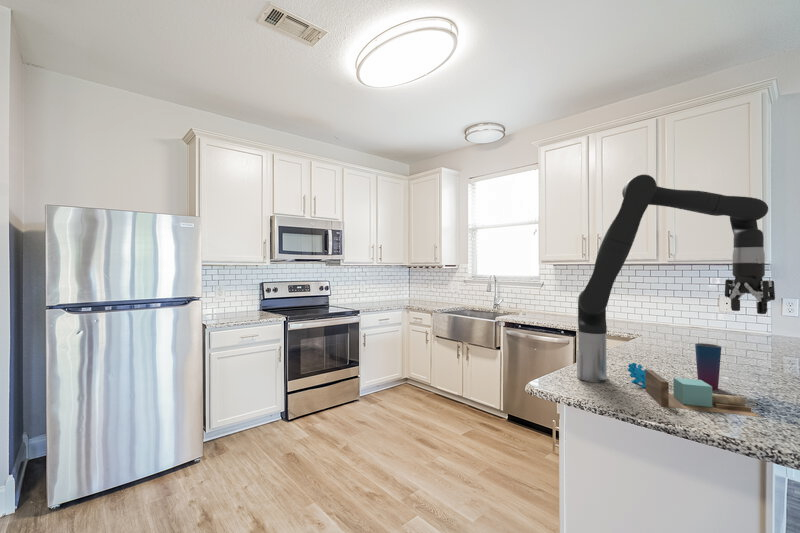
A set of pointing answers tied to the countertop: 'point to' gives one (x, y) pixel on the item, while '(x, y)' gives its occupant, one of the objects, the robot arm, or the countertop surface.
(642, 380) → the gear
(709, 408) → the board
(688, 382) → the block
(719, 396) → the dowel
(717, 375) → the cup
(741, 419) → the countertop surface
